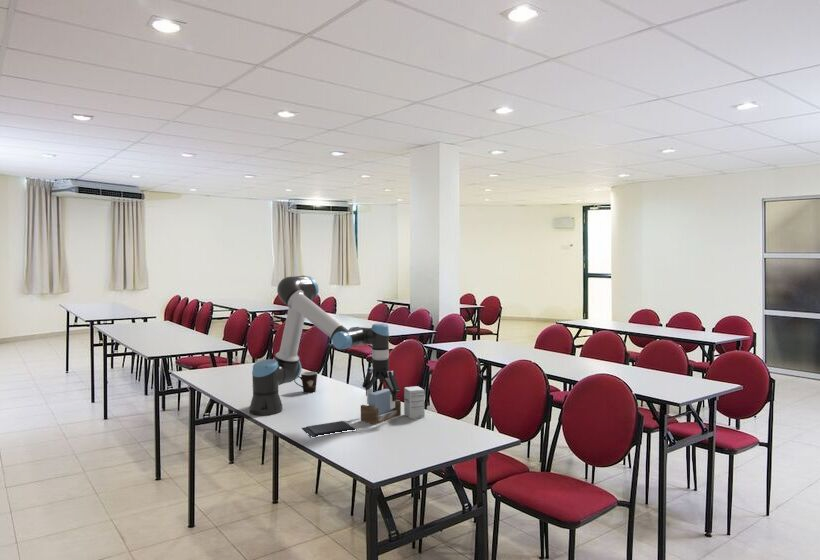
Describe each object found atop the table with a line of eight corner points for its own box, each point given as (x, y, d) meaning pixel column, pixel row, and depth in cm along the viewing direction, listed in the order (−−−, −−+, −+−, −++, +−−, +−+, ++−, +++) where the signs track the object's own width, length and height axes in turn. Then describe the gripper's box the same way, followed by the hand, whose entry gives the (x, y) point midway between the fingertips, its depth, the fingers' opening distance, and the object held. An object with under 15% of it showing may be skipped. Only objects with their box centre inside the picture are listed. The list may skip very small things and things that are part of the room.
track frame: (376, 424, 240) (376, 408, 240) (360, 420, 246) (360, 405, 246) (400, 415, 254) (400, 400, 254) (385, 412, 259) (385, 397, 259)
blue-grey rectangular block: (375, 420, 244) (375, 395, 243) (368, 418, 246) (368, 393, 246) (392, 413, 253) (392, 389, 253) (386, 412, 256) (385, 388, 255)
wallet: (311, 435, 222) (300, 425, 236) (311, 439, 223) (300, 429, 236) (357, 427, 231) (345, 418, 245) (357, 432, 232) (345, 422, 245)
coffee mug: (319, 390, 303) (319, 371, 303) (315, 393, 295) (314, 375, 294) (298, 389, 304) (298, 371, 304) (293, 393, 296) (293, 374, 295)
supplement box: (403, 414, 255) (403, 387, 254) (418, 412, 258) (418, 385, 257) (409, 419, 248) (409, 390, 248) (425, 417, 251) (424, 389, 250)
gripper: (407, 360, 244) (408, 408, 245) (365, 354, 259) (365, 399, 260) (396, 362, 238) (397, 412, 239) (354, 356, 253) (354, 403, 254)
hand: (380, 405), depth 250 cm, fingers open, 13 cm apart
